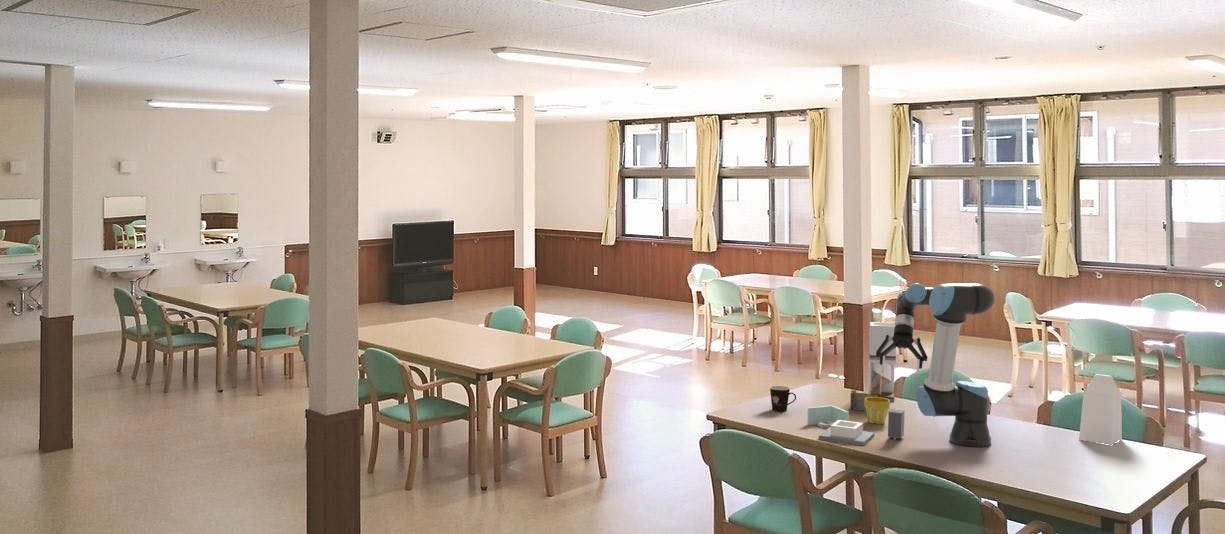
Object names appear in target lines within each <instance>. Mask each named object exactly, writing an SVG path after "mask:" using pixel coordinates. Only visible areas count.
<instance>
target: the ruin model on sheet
mask: <svg viewBox="0 0 1225 534" xmlns="http://www.w3.org/2000/svg"><path fill="white" fill-rule="evenodd" d="M850 390H851V391H850V401H849V402H850V407H849V410H850V409H851V408H855V409H854V410H855V411H861V410H865V411H864V412H866V407H865V406H864V399H865V398H867V397H877V394H868V393H865V392H864V393H863V392H857V389H850ZM851 410H852V409H851Z"/></svg>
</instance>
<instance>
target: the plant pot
mask: <svg viewBox="0 0 1225 534" xmlns="http://www.w3.org/2000/svg"><path fill="white" fill-rule="evenodd" d="M890 405H891V402H890V400H889V399H886V398H881V397H867V398H865V399H864V406H865V407H866V411H865V412H866V416H867V417H866V418H867V422H868V423H869V422H870V423H869V424H873V423H876V424H875V425H883V424H885V423H886V418H887V415H888V414H887V413H888V412H889V411H888V410H889V409H890ZM882 423H883V424H882Z"/></svg>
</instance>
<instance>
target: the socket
mask: <svg viewBox="0 0 1225 534" xmlns="http://www.w3.org/2000/svg"><path fill="white" fill-rule="evenodd" d="M873 438H875V432H871V431H864V423H863V422H857V421H850V420H849V421H844V420H837V421H836V422H835V423H833V424H832V425H831V427H829V428H826V429H825V430H824V431H822V432H821V433H820V434H819V435H818V440H822V441H828V440H831V441H830V442H835V441H839V442H838V443H842V442H845V443H844V444H849V443H850V444H851V445H857V446H863V447H864V446H865V445H867V443H869V442H870V441H872V440H873Z"/></svg>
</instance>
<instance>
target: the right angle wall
mask: <svg viewBox="0 0 1225 534" xmlns="http://www.w3.org/2000/svg"><path fill="white" fill-rule="evenodd" d="M837 420H844V421H850V412H849V411H848V410H845V409H843V408H841V407H837V406H835V405H823V406H814V407H813V406H811V407H807V425H808V426H811V425H813V426H814V425H817V427H818V428H820V429H828V428H829V427H831V425H832V424H833V423H835V422H836V421H837Z"/></svg>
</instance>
